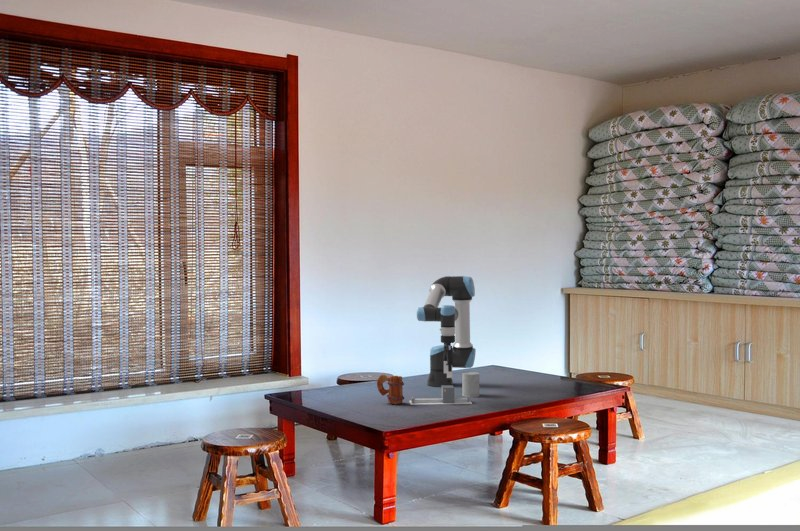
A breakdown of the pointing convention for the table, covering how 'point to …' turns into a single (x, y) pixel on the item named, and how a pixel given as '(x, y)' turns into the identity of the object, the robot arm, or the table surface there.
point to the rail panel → (438, 401)
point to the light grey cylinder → (470, 384)
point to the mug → (391, 388)
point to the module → (448, 393)
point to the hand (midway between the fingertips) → (448, 375)
